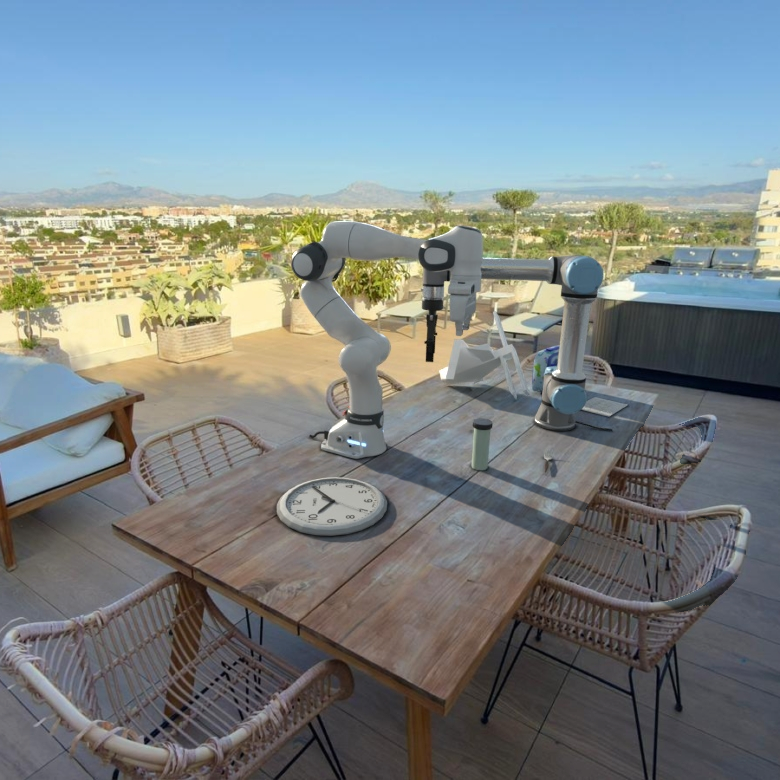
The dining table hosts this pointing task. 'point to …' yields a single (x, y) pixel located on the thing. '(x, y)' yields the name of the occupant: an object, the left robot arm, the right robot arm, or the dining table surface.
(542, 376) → the lunch box
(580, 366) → the right robot arm
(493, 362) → the white plastic object
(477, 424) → the lid
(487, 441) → the jar
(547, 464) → the fork
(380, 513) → the wall clock
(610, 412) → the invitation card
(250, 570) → the dining table surface
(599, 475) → the dining table surface
